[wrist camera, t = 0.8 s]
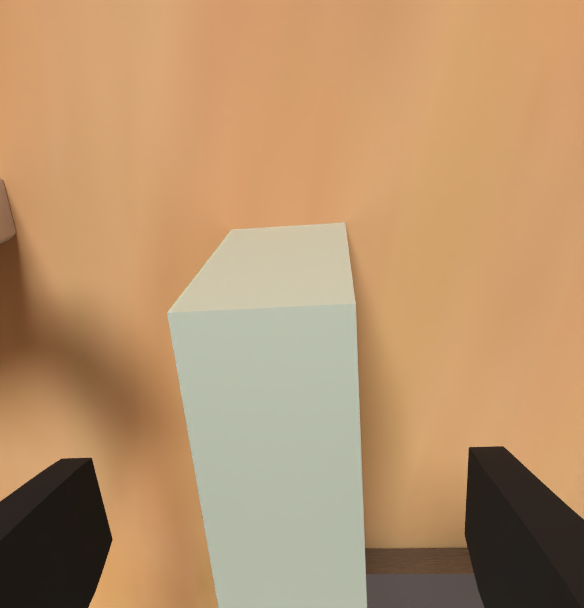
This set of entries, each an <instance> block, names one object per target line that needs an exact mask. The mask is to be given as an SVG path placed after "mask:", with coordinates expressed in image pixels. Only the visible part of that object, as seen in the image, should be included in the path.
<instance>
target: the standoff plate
mask: <svg viewBox="0 0 584 608" xmlns="http://www.w3.org/2000/svg"><path fill="white" fill-rule="evenodd" d="M365 566H366V593H367V608H484V605H483V602H482V600H481V597H480V594H479V591H478V587H477V583H476V579H475V575H474V571H473V568H472V563H471V559H470V555H469V551H468V548H429V549H365Z"/></svg>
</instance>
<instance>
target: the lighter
mask: <svg viewBox="0 0 584 608" xmlns="http://www.w3.org/2000/svg"><path fill="white" fill-rule="evenodd" d="M15 233H16V230H15V226H14V222H13V218H12V214H11V210H10V206H9V202H8V198H7V194H6V190H5V186H4V182H3V180H2V179H0V244H1V243H3V242H6V241H8V240H10V239H12V238H13V236H14V235H15Z"/></svg>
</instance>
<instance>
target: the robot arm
mask: <svg viewBox="0 0 584 608" xmlns="http://www.w3.org/2000/svg"><path fill="white" fill-rule="evenodd" d="M465 538H466V542H467V546H468V551H469V555H470V559H471V563H472V568H473V571H474V575H475V579H476V583H477V587H478V591H479V594H480V597H481V600H482V602H483V605H484V608H584V519H582V518H581V517H580V516H579V515H578V514H577V513H575V512H574V511H573V510H572V509H571V508H570V507H569V506H568V505H566V504H565V503H564V502H563V501H562V500H561V499H560V498H559V497H558V496H556V495H555V494H554V493H553V492H552V491H551V490H550V489H549V488H548V487H547V486H546V485H544V484H543V483H542V482H541V481H540V480H539V479H538V478H537V477H536V476H535V475H534V474H533V473H531V472H530V471H529V470H528V469H527V468H526V467H525V466H524V465H523V464H522V463H521V462H520V461H519V460H517V459H516V458H515V457H514V456H513V455H512V454H511V453H510V452H509V451H508V450H507V449H506V448H504V447H503V446H501V447H469V458H468V478H467V499H466V519H465ZM111 543H112V536H111V532H110V528H109V524H108V520H107V516H106V512H105V508H104V504H103V501H102V497H101V493H100V489H99V485H98V481H97V477H96V473H95V469H94V465H93V461H92V458H68V459H61V460H59V461H57V462H56V463H54V464H53V465H51V466H50V467H48V468H47V469H45V470H44V471H42V472H41V473H39V474H38V475H36V476H35V477H34V478H32V479H31V480H29V481H28V482H27V483H25V484H24V485H23V486H21V487H20V488H18V489H17V490H16V491H14V492H13V493H12V494H10V495H9V496H7V497H6V498H5V499H3V500H2V501H1V502H0V608H88V607H89V605H90V602H91V600H92V598H93V596H94V593H95V591H96V588H97V585H98V582H99V579H100V577H101V574H102V571H103V568H104V565H105V562H106V558H107V555H108V552H109V549H110V546H111Z"/></svg>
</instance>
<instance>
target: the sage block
mask: <svg viewBox="0 0 584 608" xmlns="http://www.w3.org/2000/svg"><path fill="white" fill-rule="evenodd" d="M167 315H168V321H169V327H170V332H171V338H172V344H173V350H174V355H175V361H176V367H177V373H178V378H179V384H180V390H181V396H182V401H183V407H184V413H185V419H186V424H187V430H188V436H189V442H190V447H191V453H192V459H193V465H194V470H195V476H196V482H197V488H198V493H199V499H200V505H201V511H202V516H203V522H204V528H205V534H206V539H207V545H208V551H209V557H210V562H211V568H212V574H213V580H214V585H215V591H216V597H217V603H218V608H367V593H366V566H365V539H364V513H363V486H362V459H361V433H360V406H359V379H358V353H357V326H356V302H355V295H354V287H353V279H352V271H351V264H350V256H349V248H348V241H347V233H346V225H345V222H344V223H328V224H312V225H296V226H281V227H265V228H249V229H233V230H231V231H230V232H229V233H228V235H227V236H226V237H225V239H224V240H223V241H222V243H221V244H220V245H219V246H218V248H217V249H216V250H215V252H214V253H213V254H212V255H211V257H210V258H209V259H208V261H207V262H206V263H205V264H204V266H203V267H202V268H201V270H200V271H199V272H198V273H197V275H196V276H195V277H194V279H193V280H192V281H191V283H190V284H189V285H188V286H187V288H186V289H185V290H184V292H183V293H182V294H181V295H180V297H179V298H178V299H177V301H176V302H175V303H174V304H173V306H172V307H171V308H170V310H169V311H168V312H167Z"/></svg>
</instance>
